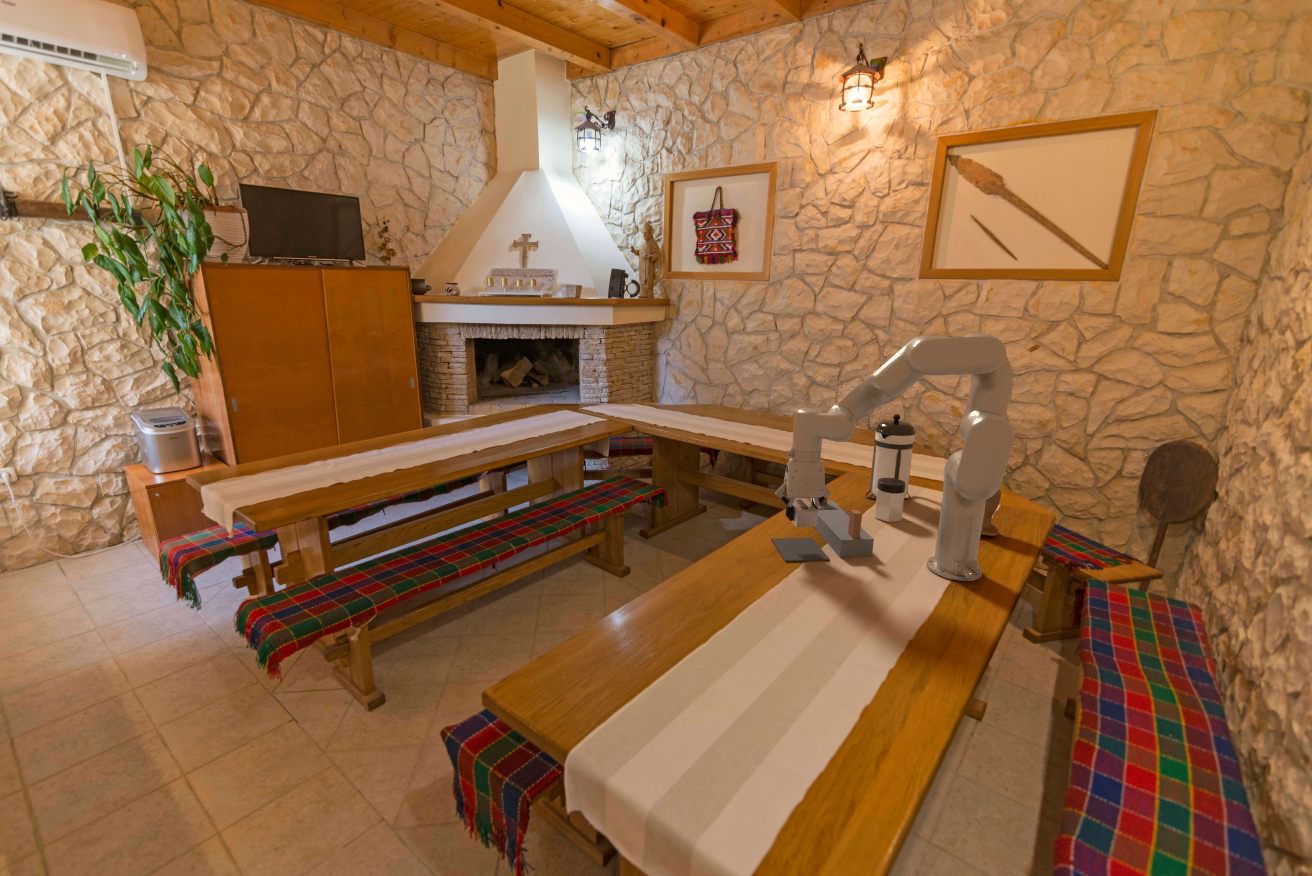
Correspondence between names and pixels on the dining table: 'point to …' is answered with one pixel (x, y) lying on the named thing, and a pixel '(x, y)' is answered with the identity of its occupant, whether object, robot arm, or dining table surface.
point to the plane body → (843, 530)
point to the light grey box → (804, 513)
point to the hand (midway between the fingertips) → (800, 518)
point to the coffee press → (892, 452)
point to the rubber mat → (799, 549)
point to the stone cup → (990, 514)
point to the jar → (889, 499)
